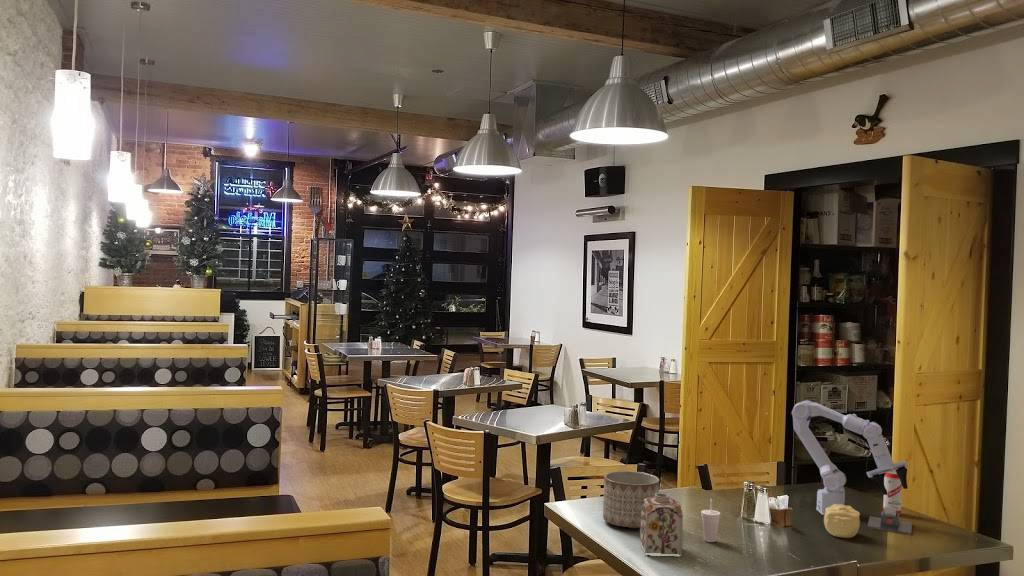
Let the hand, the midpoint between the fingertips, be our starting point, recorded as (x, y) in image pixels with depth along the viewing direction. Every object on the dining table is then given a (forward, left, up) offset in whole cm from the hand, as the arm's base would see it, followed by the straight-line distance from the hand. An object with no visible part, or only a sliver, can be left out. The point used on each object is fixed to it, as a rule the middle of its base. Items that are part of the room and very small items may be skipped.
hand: (895, 491), depth 281 cm
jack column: (-3, -3, -12) cm, 13 cm away
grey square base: (-3, -3, -12) cm, 13 cm away
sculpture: (-25, -16, -12) cm, 32 cm away
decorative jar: (-91, -42, -12) cm, 101 cm away
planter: (-98, -15, -12) cm, 100 cm away
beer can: (+5, +14, -12) cm, 20 cm away
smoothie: (-73, -30, -12) cm, 80 cm away
